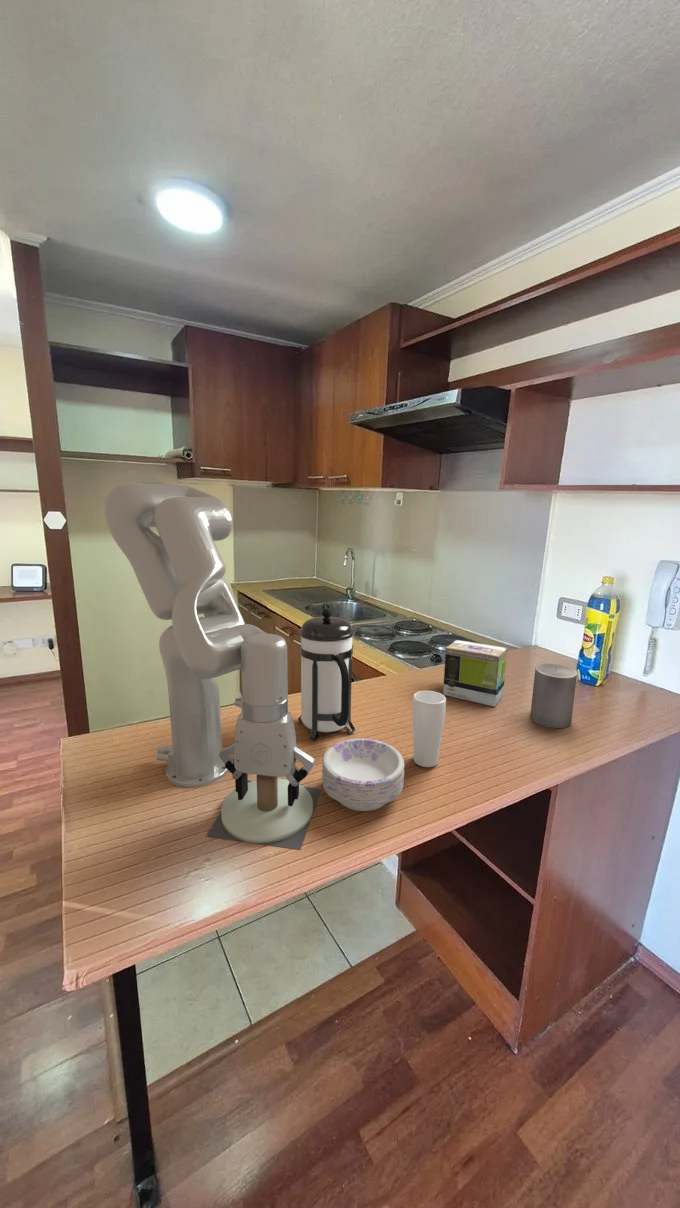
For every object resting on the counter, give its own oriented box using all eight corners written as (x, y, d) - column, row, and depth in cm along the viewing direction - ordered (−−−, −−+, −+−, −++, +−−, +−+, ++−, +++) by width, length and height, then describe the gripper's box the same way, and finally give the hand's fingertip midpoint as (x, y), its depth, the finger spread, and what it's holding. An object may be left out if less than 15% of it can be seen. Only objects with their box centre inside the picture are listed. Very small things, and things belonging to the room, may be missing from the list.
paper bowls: (339, 832, 77) (340, 790, 75) (311, 781, 91) (311, 745, 89) (418, 811, 83) (420, 771, 81) (380, 766, 96) (381, 732, 95)
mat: (205, 838, 75) (205, 836, 75) (241, 781, 91) (241, 779, 91) (300, 851, 73) (300, 849, 73) (321, 790, 88) (321, 788, 88)
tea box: (503, 695, 133) (508, 647, 130) (494, 708, 125) (499, 656, 122) (453, 684, 141) (456, 638, 138) (441, 695, 133) (445, 646, 129)
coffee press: (280, 735, 109) (278, 612, 102) (315, 709, 123) (315, 599, 116) (345, 754, 101) (348, 622, 94) (374, 724, 115) (379, 607, 108)
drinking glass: (419, 750, 103) (423, 687, 100) (447, 760, 99) (452, 696, 96) (403, 762, 98) (407, 697, 95) (432, 774, 94) (436, 706, 90)
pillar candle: (544, 708, 125) (550, 656, 122) (579, 722, 117) (586, 667, 114) (522, 717, 120) (527, 663, 117) (556, 732, 112) (563, 675, 109)
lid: (205, 836, 75) (203, 797, 74) (241, 779, 91) (240, 746, 89) (300, 849, 73) (300, 809, 71) (321, 788, 88) (321, 754, 86)
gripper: (207, 712, 75) (211, 806, 79) (310, 722, 72) (310, 818, 76) (225, 694, 82) (229, 780, 86) (320, 702, 79) (320, 791, 83)
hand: (267, 798), depth 81 cm, fingers open, 8 cm apart
